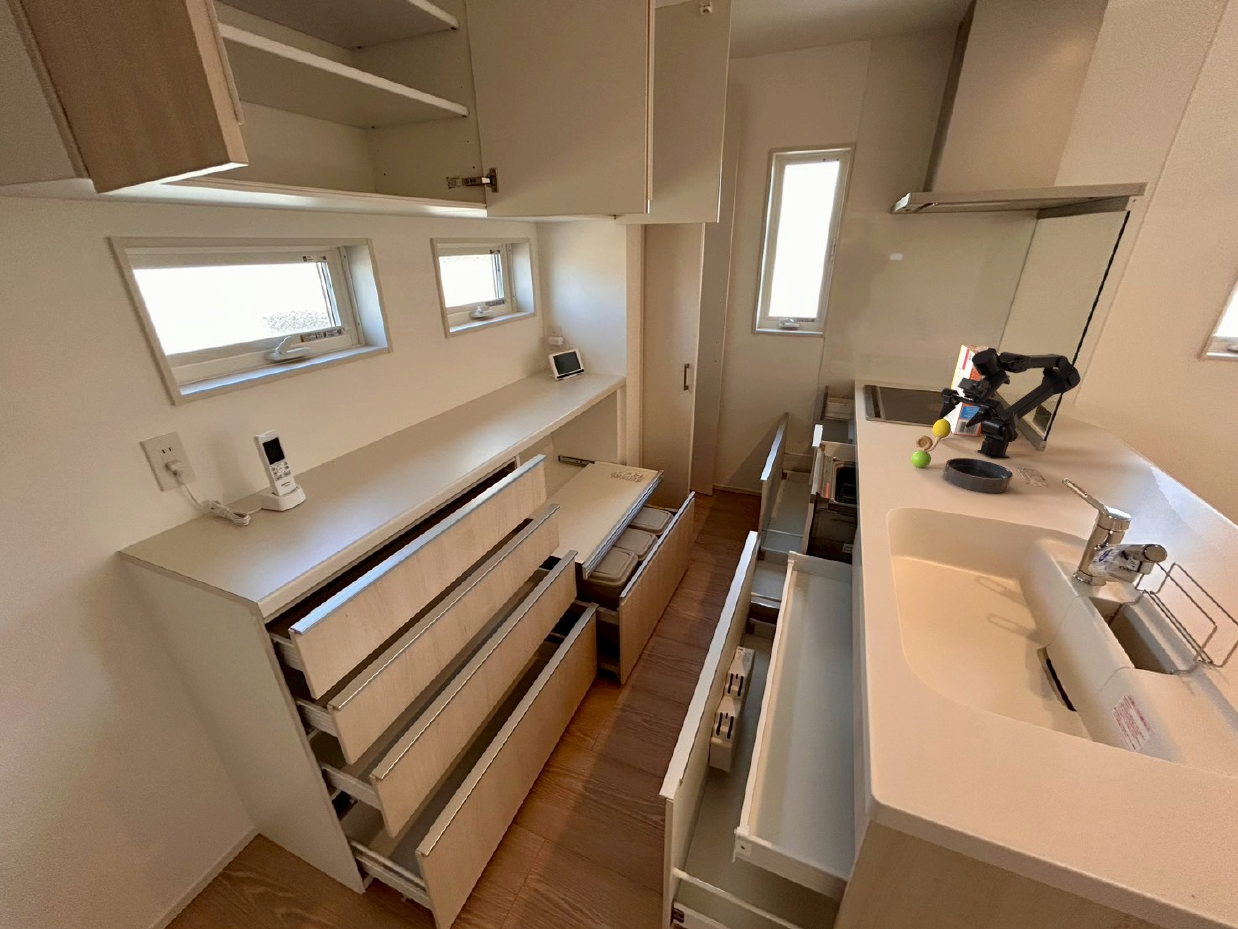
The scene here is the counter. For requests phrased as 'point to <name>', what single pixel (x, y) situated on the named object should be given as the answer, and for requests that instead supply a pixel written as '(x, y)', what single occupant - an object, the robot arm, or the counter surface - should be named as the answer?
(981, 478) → the pan
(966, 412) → the red and white box
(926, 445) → the snail figurine
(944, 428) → the lemon
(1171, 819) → the counter surface
